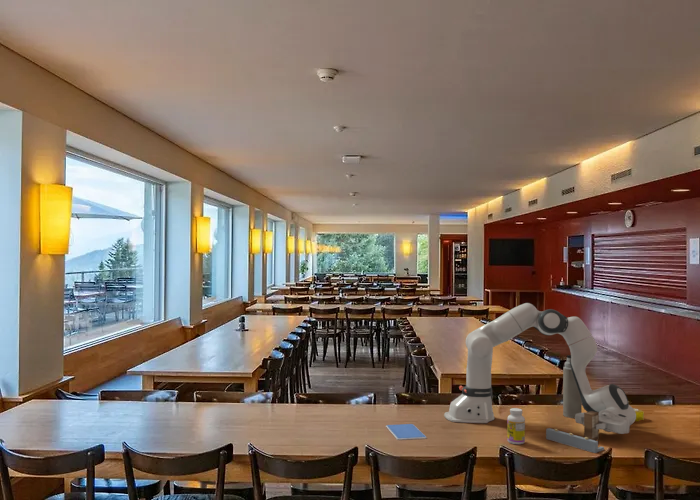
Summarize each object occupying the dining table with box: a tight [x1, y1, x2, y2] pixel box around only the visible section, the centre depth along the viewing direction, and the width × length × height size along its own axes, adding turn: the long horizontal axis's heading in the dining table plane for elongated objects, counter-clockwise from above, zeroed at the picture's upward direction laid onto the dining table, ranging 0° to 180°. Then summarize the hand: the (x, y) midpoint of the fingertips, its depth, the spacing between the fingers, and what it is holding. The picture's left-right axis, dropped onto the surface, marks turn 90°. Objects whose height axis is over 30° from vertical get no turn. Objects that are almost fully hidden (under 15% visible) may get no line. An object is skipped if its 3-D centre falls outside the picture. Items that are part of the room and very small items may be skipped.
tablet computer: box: [385, 423, 428, 441], centre depth 235 cm, size 19×13×1 cm, turn 11°
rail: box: [545, 427, 605, 454], centre depth 222 cm, size 6×21×5 cm, turn 36°
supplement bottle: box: [506, 407, 526, 445], centre depth 223 cm, size 7×7×13 cm
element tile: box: [632, 407, 645, 423], centre depth 262 cm, size 15×15×5 cm
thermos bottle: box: [562, 354, 583, 419], centre depth 264 cm, size 8×8×28 cm
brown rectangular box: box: [583, 411, 600, 442], centre depth 227 cm, size 6×3×11 cm, turn 128°
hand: (590, 425), depth 226 cm, fingers closed on brown rectangular box, 3 cm apart
